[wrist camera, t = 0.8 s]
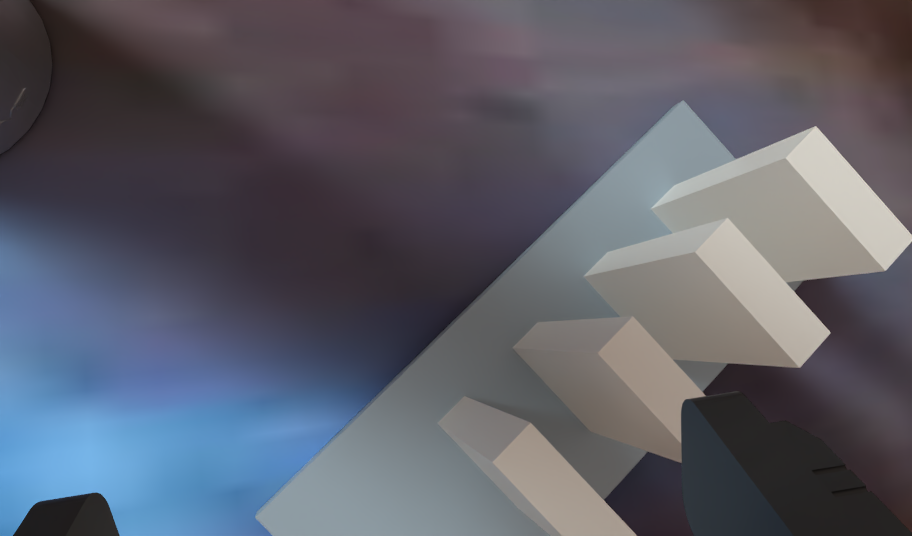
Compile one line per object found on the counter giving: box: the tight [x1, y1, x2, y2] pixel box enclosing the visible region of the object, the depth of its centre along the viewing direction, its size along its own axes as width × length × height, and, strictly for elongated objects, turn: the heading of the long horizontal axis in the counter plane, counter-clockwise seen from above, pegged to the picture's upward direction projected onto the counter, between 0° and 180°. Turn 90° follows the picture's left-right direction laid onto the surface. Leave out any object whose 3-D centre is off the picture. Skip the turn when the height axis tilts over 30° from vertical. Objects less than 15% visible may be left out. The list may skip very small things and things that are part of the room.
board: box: [255, 101, 804, 536], centre depth 33 cm, size 10×26×1 cm, turn 134°
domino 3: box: [651, 126, 912, 282], centre depth 30 cm, size 5×2×10 cm, turn 44°
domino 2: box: [438, 396, 637, 536], centre depth 27 cm, size 5×2×10 cm, turn 44°
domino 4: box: [583, 218, 831, 368], centre depth 29 cm, size 5×2×10 cm, turn 44°
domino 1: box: [513, 316, 706, 463], centre depth 28 cm, size 5×2×10 cm, turn 44°
